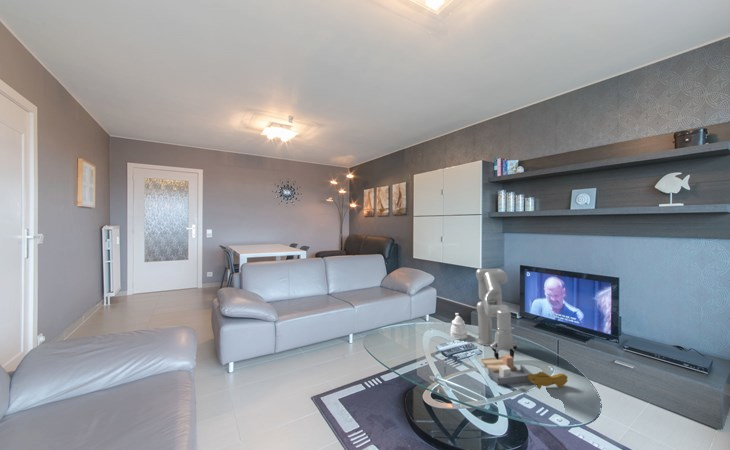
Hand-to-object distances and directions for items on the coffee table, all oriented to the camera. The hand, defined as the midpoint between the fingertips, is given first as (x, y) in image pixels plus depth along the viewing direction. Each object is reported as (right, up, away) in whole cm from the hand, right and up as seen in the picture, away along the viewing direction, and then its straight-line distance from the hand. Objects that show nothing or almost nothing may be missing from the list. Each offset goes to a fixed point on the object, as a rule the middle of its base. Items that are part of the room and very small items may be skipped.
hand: (504, 357), depth 176 cm
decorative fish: (+20, -13, -10) cm, 26 cm away
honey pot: (-8, -10, +59) cm, 61 cm away
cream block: (+1, -12, 0) cm, 12 cm away
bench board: (+3, -12, +13) cm, 18 cm away
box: (+4, -13, 0) cm, 13 cm away
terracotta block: (+7, -10, +10) cm, 16 cm away
